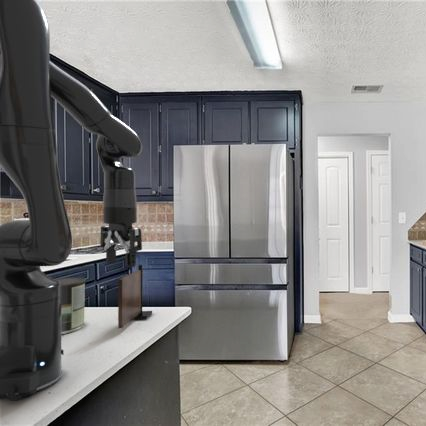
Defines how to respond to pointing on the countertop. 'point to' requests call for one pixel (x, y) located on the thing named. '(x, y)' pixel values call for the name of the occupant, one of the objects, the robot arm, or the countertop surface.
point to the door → (129, 298)
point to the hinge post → (143, 314)
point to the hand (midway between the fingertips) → (120, 265)
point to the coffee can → (72, 304)
